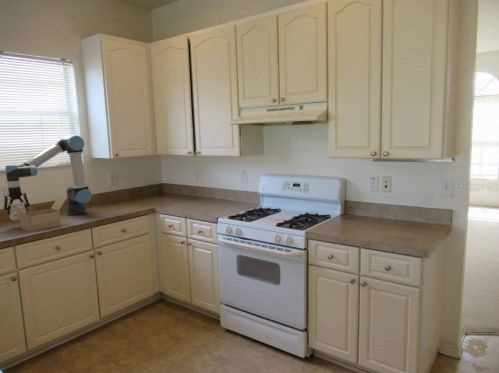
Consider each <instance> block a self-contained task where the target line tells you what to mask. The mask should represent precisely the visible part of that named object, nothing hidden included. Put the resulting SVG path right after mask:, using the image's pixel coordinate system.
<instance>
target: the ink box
mask: <svg viewBox="0 0 499 373" xmlns="http://www.w3.org/2000/svg"><path fill="white" fill-rule="evenodd" d="M24 203H25V201H24V202H20V201H19V202H13V203H12V205H15V206H17V207H18V208H19V209H20V210H21V211H22V212H23V213H25V206H24ZM10 210H11V212H12V219H10V220H11V221H20V218H19V213H18V212H17V211H16V210H15V209H14V208H12V207H11V208H10Z"/></svg>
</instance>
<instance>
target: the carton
mask: <svg viewBox="0 0 499 373" xmlns="http://www.w3.org/2000/svg"><path fill="white" fill-rule="evenodd" d="M25 214H26V215H27V216H25V215H22V214H19V218H20V219H19V226H20V227H19V228H20V229H21V230H24V231H26V232H28V233H32V232H37V231H41V230H42V231H43V230H47V229H52V228H57V227H61V226H62V223H61V222H62V221H61V211H60V210H55V209H52V208H49V209H41V210H35V211H27V212H26V213H25Z"/></svg>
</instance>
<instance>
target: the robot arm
mask: <svg viewBox="0 0 499 373" xmlns="http://www.w3.org/2000/svg"><path fill="white" fill-rule="evenodd" d="M84 147H85V141H84V139H83V138H82V137H81V136H79V135H78V134H77V135H76V134H67V135H64V136H63V137H61V138H59V139H58V140H56V141H54V143H53V145H51V146H49V147H48V148H46V149H45V150H43V151H41V152H39V153H38V154H37V155H35V156H33V157H31V158H30V159H29V160H27V161H25V162H24V163H22V164H19V165H17V164H8V165H6V166H5V175H6V176H5V177H6V183H7V187H8V188H7V190H8V194H7V195H4V196H3V198H4V203H3V205H4V206H3V210H4V211H7V216H9V219H10V220H11V219H12V212H11V210H10V208H11V206H10V205H9V204H12V203H14V201H16V200H19V202H24V206H25V213H28V212H29V210H28V207H30V205H31V204H30V203H29V200H28V197H27V193H26V192H22V190H21V182H20V178H29V177H35V176H37V175H38V167H39V166H41V165H43V164H45V163H46V162H48V161H49V160H51V159H52V158H54V157H56V156H57V155H59V154H60V153H61V154H62V153H63V154H64V152H66V154H68V156H69V159H70V167H71V172H72V174H71V175H72V180H73V186H72V185H71V186H67V187H66V201H67V208H66V212H65V213H66V215H67V216H80V215H84V214H86V213H87V209H86V207H85V204H87V203H89V202H90V201H91V199H92V197H93V196H92V192H91V190H90V188H89V185H88V184H87V182H86V176H85V170H84V169H85V168H84V163H83V156H82V154H83V153H84V149H83V148H84ZM22 197H23V198H22ZM9 198H10V199H9ZM23 199H24V200H23Z"/></svg>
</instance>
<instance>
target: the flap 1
mask: <svg viewBox="0 0 499 373" xmlns="http://www.w3.org/2000/svg"><path fill="white" fill-rule="evenodd" d="M8 205H10V206H11V207H12V208H14V209H15V210H16V211H17V212H18V213H19V214H22V215H25V216H27V215H26V214H25V213H23V212H22V211H21V210H20V209H19V208H18V207H17V206H15V205H12V204H9V203H8Z"/></svg>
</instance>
